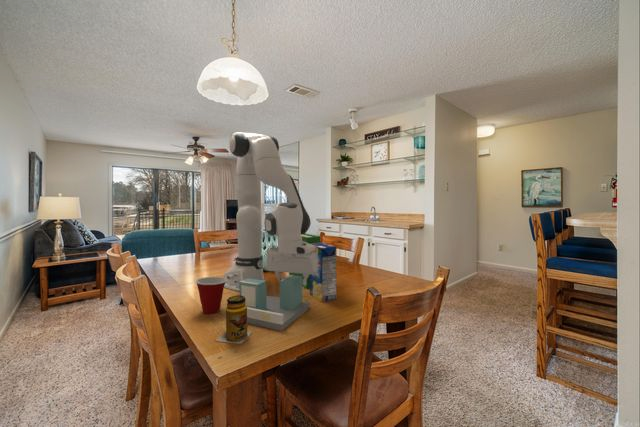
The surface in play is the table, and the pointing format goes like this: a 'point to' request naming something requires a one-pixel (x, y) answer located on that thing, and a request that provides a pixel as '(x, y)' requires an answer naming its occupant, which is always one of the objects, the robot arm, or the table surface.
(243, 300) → the condiment
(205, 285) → the plastic cup
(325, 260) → the beverage box
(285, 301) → the carton
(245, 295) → the carton
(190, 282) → the table surface
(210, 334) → the table surface
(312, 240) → the hardback book
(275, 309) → the shelf board
